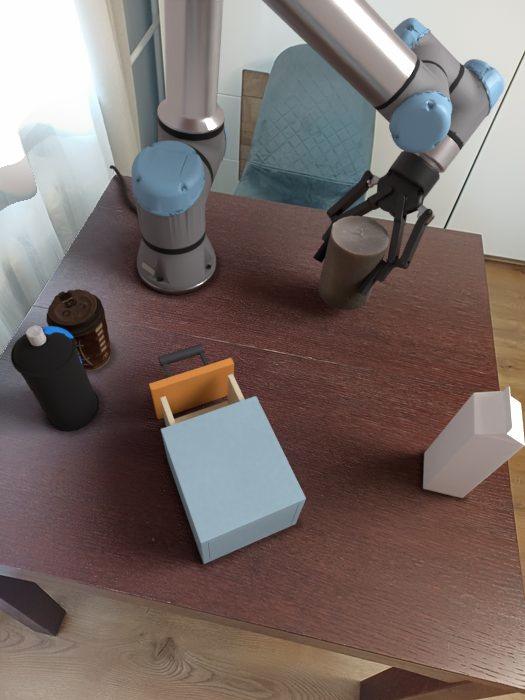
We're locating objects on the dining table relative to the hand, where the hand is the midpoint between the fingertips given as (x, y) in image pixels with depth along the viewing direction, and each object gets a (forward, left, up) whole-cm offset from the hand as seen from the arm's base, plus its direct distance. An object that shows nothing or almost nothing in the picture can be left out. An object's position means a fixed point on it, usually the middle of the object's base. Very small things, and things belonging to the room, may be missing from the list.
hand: (338, 276), depth 86 cm
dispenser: (+25, -30, -9) cm, 40 cm away
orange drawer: (+14, -30, -9) cm, 34 cm away
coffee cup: (-6, -43, -10) cm, 44 cm away
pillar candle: (-1, +3, -6) cm, 7 cm away
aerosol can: (+3, -48, -10) cm, 49 cm away
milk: (+35, +1, -10) cm, 36 cm away
